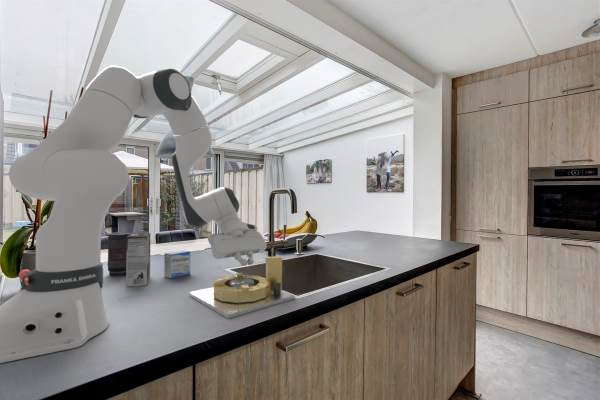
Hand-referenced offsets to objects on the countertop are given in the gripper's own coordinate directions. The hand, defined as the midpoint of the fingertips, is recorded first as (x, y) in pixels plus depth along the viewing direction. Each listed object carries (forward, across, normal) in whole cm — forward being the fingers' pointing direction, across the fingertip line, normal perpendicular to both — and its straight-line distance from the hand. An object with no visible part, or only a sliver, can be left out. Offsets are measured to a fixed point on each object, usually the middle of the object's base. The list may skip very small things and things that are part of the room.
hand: (248, 264), depth 103 cm
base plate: (+12, -9, -3) cm, 15 cm away
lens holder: (+12, -8, -4) cm, 15 cm away
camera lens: (-23, -29, +33) cm, 50 cm away
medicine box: (-13, -14, +22) cm, 29 cm away
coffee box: (-13, -27, +22) cm, 37 cm away
